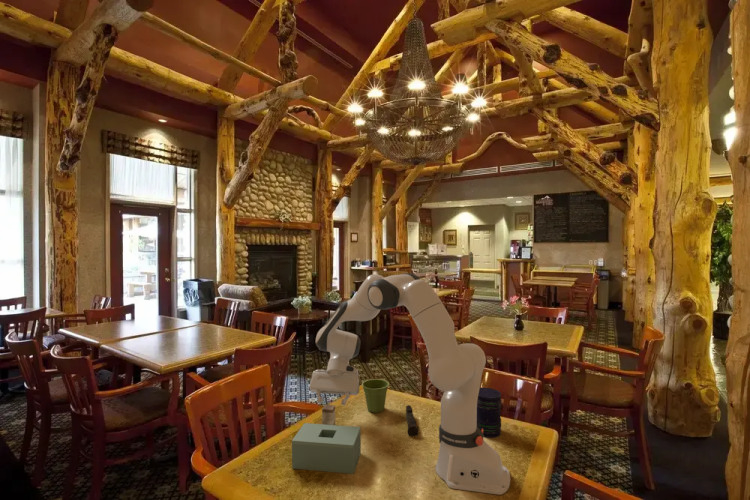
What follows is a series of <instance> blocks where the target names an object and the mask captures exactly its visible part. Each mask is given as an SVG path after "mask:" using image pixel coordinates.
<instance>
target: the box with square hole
mask: <svg viewBox="0 0 750 500" xmlns="http://www.w3.org/2000/svg"><path fill="white" fill-rule="evenodd" d="M361 429H362V427H361V426H352V425H351V426H350V425H349V426H348V425H336V424H335V425H324V424H322V423H309V422H308V423H305V422H304V423H303V425H302V426H301V427H300V429H299V430H298V431H297V433H296V435H294V437H293V439H292V440H291V468H292V469H295V470H306V471H316V472H326V473H327V472H330V473H337V474H338V473H339V474H351V475H353V474H354V473H355V471H356V468H357V464H358V462H359V459H360V457H361V453H362V451H361V450H362V449H361V448H362V446H361V444H362V443H361V441H362V440H361V438H362V437H361V433H362V432H361V431H362V430H361Z"/></svg>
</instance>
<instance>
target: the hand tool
mask: <svg viewBox="0 0 750 500" xmlns="http://www.w3.org/2000/svg"><path fill="white" fill-rule="evenodd" d="M413 413H414V412H413V408H412V406H411V405H409V404H408V405H406V407H405V417H406V423H407V435H408V436H409V437H417V436H418V434H419V430H420V429H419V427H418V426H417V421H416V420H415V417H414V414H413Z"/></svg>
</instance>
